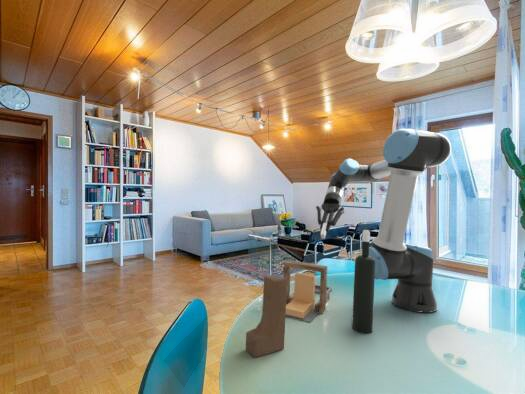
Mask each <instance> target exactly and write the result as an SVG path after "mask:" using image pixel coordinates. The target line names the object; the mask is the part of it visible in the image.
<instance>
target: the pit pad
mask: <svg viewBox="0 0 525 394" xmlns="http://www.w3.org/2000/svg"><path fill="white" fill-rule="evenodd" d="M332 290H333V287H330V286H326V293H331V292H333V291H332ZM316 294H318V295H320V284H319V285H318V284H315V295H316Z"/></svg>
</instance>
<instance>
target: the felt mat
mask: <svg viewBox="0 0 525 394" xmlns="http://www.w3.org/2000/svg"><path fill="white" fill-rule="evenodd" d="M318 314H320V313H319V312H315V308H313V309H312V310H311V311H310V312H309V313H308V314H307V315H306V316H305V317H304V318H303V319H302V318H298V317H294V316H290V315H285V318H290V319H293V320H297V321H300V322H305V323H308V324H309V323H310V324H311V323H312V321H314V319H315V318H316V317H317V316H318Z"/></svg>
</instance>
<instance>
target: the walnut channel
mask: <svg viewBox="0 0 525 394" xmlns="http://www.w3.org/2000/svg"><path fill="white" fill-rule="evenodd" d="M291 269H297V270H299V269H300V270H305V271H312V272H318V273H320V283H319V285H320V294H319V300H318V301H317V302H316V303H314V309H315V312H319V313H318V314H321V315H324V313H325V311H326V309H327V308H326V307H327V306H326V305H327V303H328V302H329V300H330V299H331V298H330V293H331V292H330V293H326V287H328V286H327V283H328V282H327V281H328V280H327V278H328V265H324V264H323V265H322V264H317V263H315V264H314V263H310V262H303V261H302V262H301V261H297V260H296V261H295V260H291V259H290V260H286V261H284V262H283V276H282V277H284V278H286V279H287V293H286V305H287V304H288V303H290V302H291V301H292V300H293V299H294V292H293V293H292V294H291V293H290V292H291V291H290V290H291V272H292V270H291Z"/></svg>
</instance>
